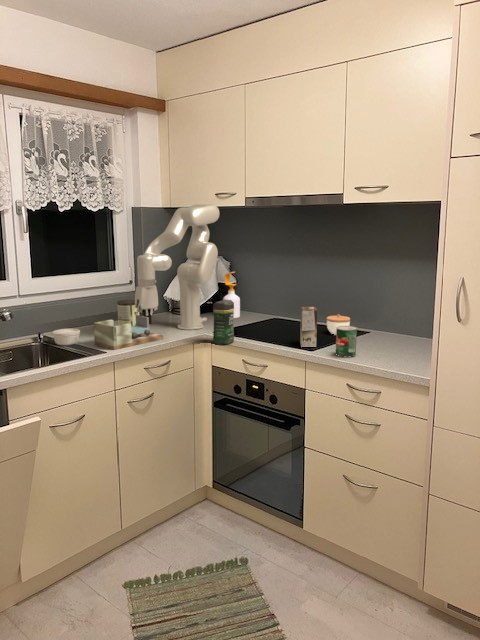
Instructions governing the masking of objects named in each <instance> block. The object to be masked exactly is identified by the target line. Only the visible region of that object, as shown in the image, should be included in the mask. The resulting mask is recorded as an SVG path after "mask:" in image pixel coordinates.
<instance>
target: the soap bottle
mask: <svg viewBox="0 0 480 640" xmlns="http://www.w3.org/2000/svg"><path fill="white" fill-rule="evenodd" d="M235 273H236V271H231V272H228V273H225V274H224V285H225V286H228V287H229V288H228V291H227V292H228V293H227V294H226V295H225V296H223V299H222V300H232V301H233V302H234V315H233V319H238V318H240V317H241V298H240V296H238V295H237V294H236V293H235V289H234V287H235V286H237V283H231V282H230V281H231V280H230V279H231V277H230V276H231V274H235Z"/></svg>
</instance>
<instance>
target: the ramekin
mask: <svg viewBox="0 0 480 640" xmlns="http://www.w3.org/2000/svg"><path fill="white" fill-rule="evenodd" d="M80 334H81V331H80V329H78V328H60V329H55V330H53V331H52V335H53V339H54V343H55V344H56V345H58V346H59V345H60V346H71V345H75V344H77V343H79V340H80ZM74 343H75V344H74Z"/></svg>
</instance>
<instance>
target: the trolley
mask: <svg viewBox="0 0 480 640" xmlns="http://www.w3.org/2000/svg"><path fill="white" fill-rule="evenodd" d="M131 332H132V338H136V337H137V334H141V333H144V334H145V335H149V334H150V333H151V330H150V324H149V317H144V315H140V314H139V315H136V325H135V326H131Z"/></svg>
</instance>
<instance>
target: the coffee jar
mask: <svg viewBox="0 0 480 640" xmlns="http://www.w3.org/2000/svg"><path fill="white" fill-rule="evenodd" d="M212 306H213V309H212V310H213V334H212V337H213V338H212V339H213V340H212V342H213V343H214V344H216V345H229V344H231V343H233V342H234V341H235V328H234V323H235V322H234V318H233V315H234V302H233V301H232V300H223V299H222V300H219V301H215V302H214V303H213V305H212Z"/></svg>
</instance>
